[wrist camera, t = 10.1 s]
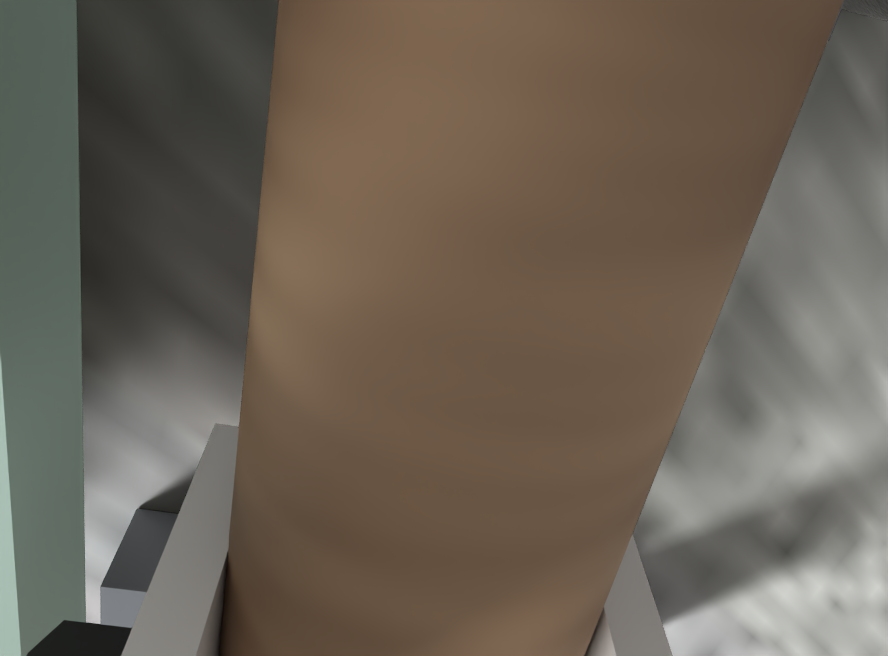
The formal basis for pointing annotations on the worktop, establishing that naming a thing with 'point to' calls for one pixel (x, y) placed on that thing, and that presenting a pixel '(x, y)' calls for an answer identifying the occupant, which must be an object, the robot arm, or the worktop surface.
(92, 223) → the worktop surface
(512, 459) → the roller
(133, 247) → the worktop surface
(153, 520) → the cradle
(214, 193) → the worktop surface
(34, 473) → the slab
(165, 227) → the worktop surface
